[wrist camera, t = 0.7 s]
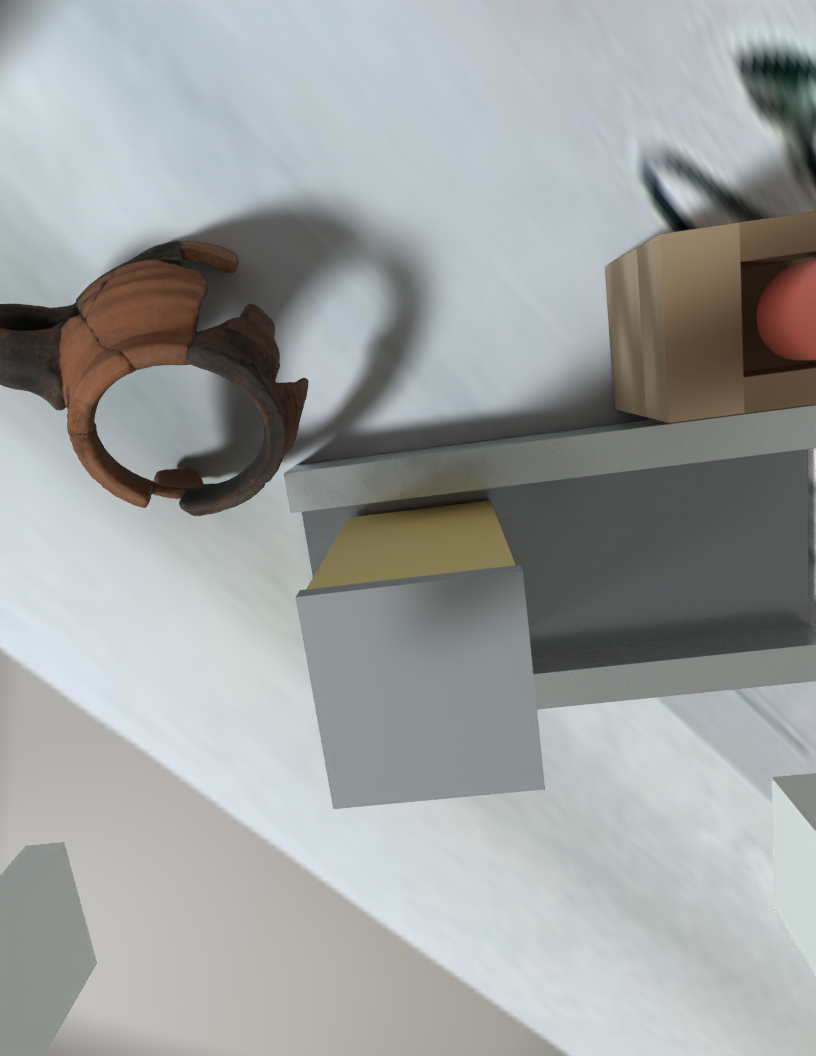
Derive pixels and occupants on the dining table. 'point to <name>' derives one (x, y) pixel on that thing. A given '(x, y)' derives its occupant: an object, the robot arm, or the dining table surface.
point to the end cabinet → (705, 321)
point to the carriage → (422, 659)
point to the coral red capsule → (790, 312)
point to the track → (623, 545)
